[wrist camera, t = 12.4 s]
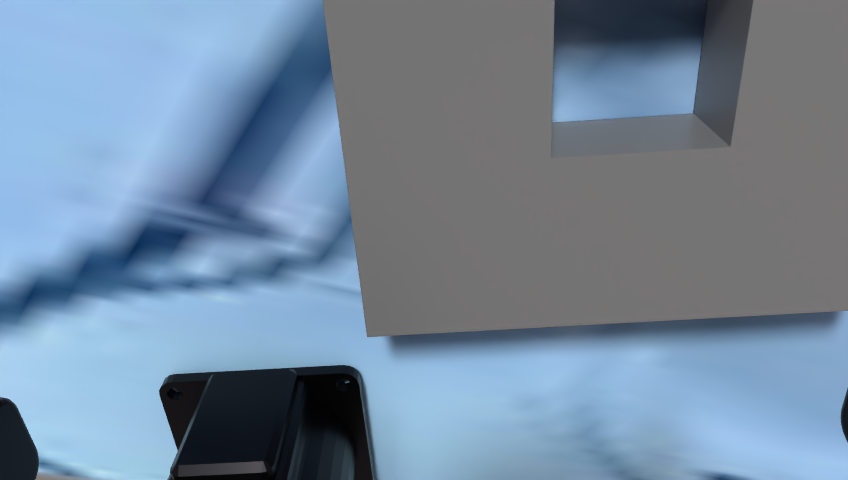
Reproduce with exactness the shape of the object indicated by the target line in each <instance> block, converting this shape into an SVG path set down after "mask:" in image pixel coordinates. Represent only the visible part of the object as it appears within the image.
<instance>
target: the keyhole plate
mask: <svg viewBox="0 0 848 480" xmlns="http://www.w3.org/2000/svg"><path fill="white" fill-rule="evenodd" d="M323 6H324V14H325V21H326V29H327V36H328V44H329V51H330V59H331V67H332V74H333V82H334V89H335V97H336V104H337V112H338V120H339V127H340V135H341V142H342V150H343V157H344V165H345V172H346V180H347V188H348V195H349V203H350V210H351V218H352V225H353V233H354V241H355V248H356V256H357V263H358V271H359V278H360V286H361V294H362V301H363V309H364V316H365V324H366V331H367V337H377V336H395V335H414V334H432V333H450V332H469V331H487V330H505V329H523V328H542V327H560V326H578V325H596V324H615V323H633V322H651V321H669V320H688V319H706V318H724V317H742V316H761V315H779V314H797V313H815V312H834V311H848V0H708V2H707V10H706V18H705V26H704V34H703V42H702V50H701V58H700V66H699V74H698V82H697V90H696V98H695V106H694V114H680V115H665V116H649V117H634V118H618V119H603V120H587V121H572V122H556V123H552V94H553V50H554V7H555V0H323Z"/></svg>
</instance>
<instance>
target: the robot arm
mask: <svg viewBox="0 0 848 480" xmlns="http://www.w3.org/2000/svg"><path fill="white" fill-rule="evenodd" d="M341 379H345V380H348V381H350V383H341V382H340V381H338V380H341ZM172 388H176V389H178V390H180V391H181V392H176V391H175V390H173V389H172ZM159 393H160V398H161V401H162V404H163V407H164V410H165V413H166V416H167V419H168V422H169V425H170V428H171V431H172V434H173V437H174V440H175V444H176V447H177V450H178V452H177V454H176V457H175V459H174V462H173V464H172V466H171V469H170V475H169V478H168V480H375V476H374V469H373V462H372V455H371V448H370V441H369V434H368V427H367V420H366V413H365V407H364V400H363V393H362V386H361V379H360V375H359V372H358V371H357V370H356V369H355V368H353V367H351V366H346V365H337V366H319V367H300V368H281V369H262V370H244V371H225V372H206V373H188V374H174V375H169V376H168V377H167V378H165V380H164V382H163V384H162V386H161V388H160V390H159ZM841 425H842V429H843V433H844V435H845V438H846V440H847V442H848V389H847V392H846V396H845V399H844V402H843V406H842V410H841ZM38 466H39V458H38V452H37V449H36V447H35V445H34V443H33V440H32V438H31V436H30V434H29V432H28V430H27V427H26V425H25V423H24V421H23V419H22V417H21V415H20V412H19V410H18V408H17V406H16V405H15V404H14V403H13V402H12V401H11V400H9V399H7V398H2V397H0V480H35V479H36V476H37V472H38Z"/></svg>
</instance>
